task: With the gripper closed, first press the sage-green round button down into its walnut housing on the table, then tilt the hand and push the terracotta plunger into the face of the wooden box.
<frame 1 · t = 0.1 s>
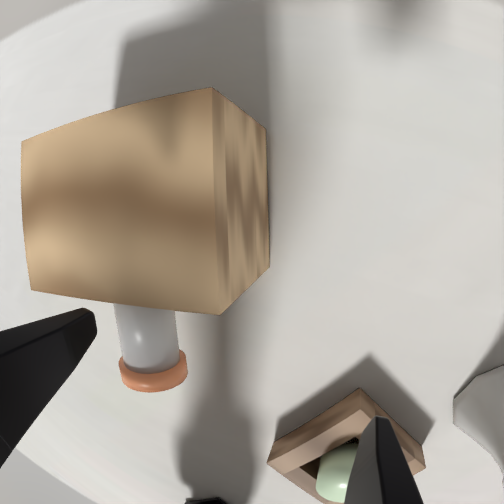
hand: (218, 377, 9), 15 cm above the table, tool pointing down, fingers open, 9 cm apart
button housing: (349, 447, 25), on the table
flask: (485, 399, 21), on the table
wooden box: (179, 201, 25), on the table
plunger: (145, 321, 20), point 6 cm above the table, slide at 0.0 cm
table button: (347, 474, 21), point 4 cm above the table, slide at 0.0 cm
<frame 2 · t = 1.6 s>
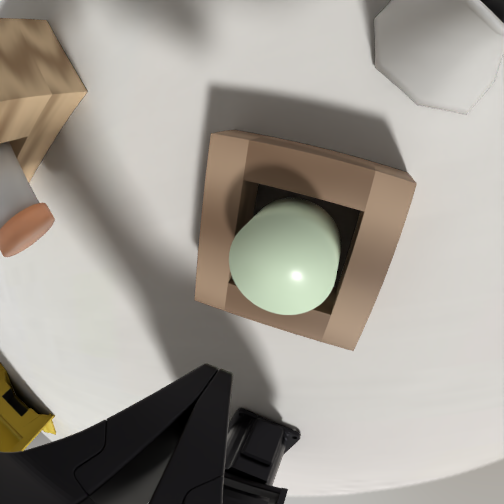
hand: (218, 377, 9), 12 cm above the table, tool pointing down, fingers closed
vintage telephone: (27, 397, 55), on the table
button housing: (301, 230, 19), on the table
flask: (435, 49, 12), on the table
wooden box: (28, 109, 22), on the table
plunger: (5, 192, 18), point 6 cm above the table, slide at 0.0 cm
table button: (288, 255, 16), point 3 cm above the table, slide at 0.0 cm
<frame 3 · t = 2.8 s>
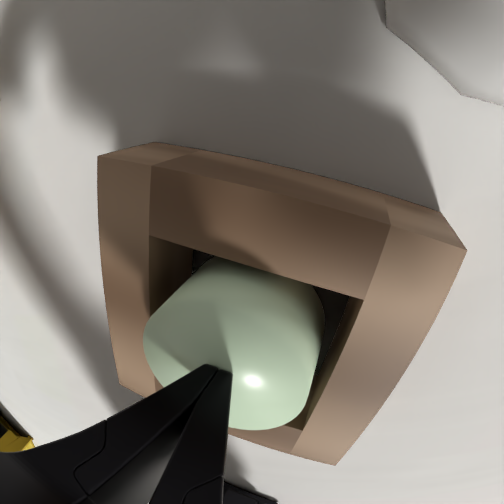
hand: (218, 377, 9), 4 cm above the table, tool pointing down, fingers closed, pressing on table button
vintage telephone: (7, 417, 48), on the table
button housing: (262, 299, 12), on the table
flask: (483, 6, 6), on the table
table button: (237, 344, 10), point 3 cm above the table, slide at 0.8 cm, touching gripper
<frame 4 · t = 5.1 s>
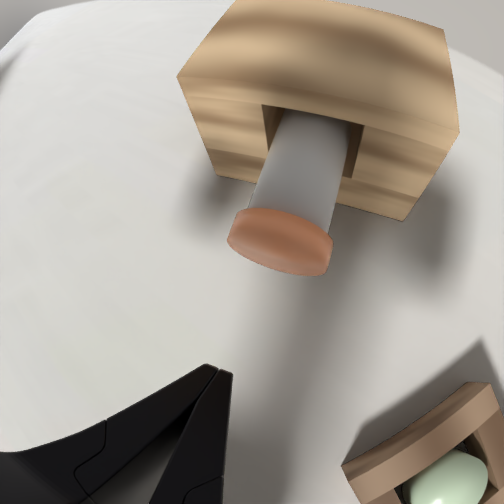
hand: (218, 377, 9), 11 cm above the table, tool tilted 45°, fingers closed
button housing: (434, 478, 15), on the table
wooden box: (323, 142, 24), on the table
plunger: (299, 182, 16), point 6 cm above the table, slide at 0.0 cm
table button: (445, 486, 13), point 2 cm above the table, slide at 1.6 cm
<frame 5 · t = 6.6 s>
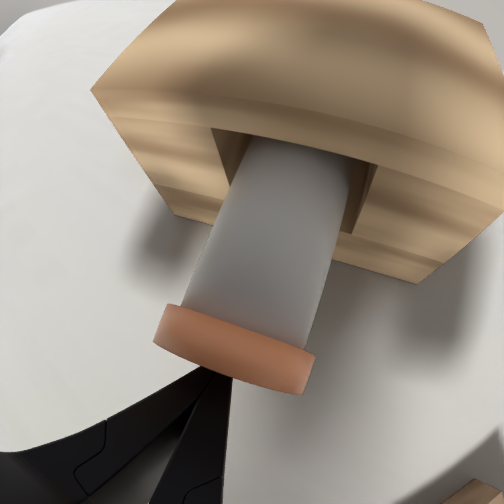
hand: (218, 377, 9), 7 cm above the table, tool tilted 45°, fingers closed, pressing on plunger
wooden box: (316, 171, 18), on the table
plunger: (270, 248, 11), point 6 cm above the table, slide at 0.2 cm, touching gripper
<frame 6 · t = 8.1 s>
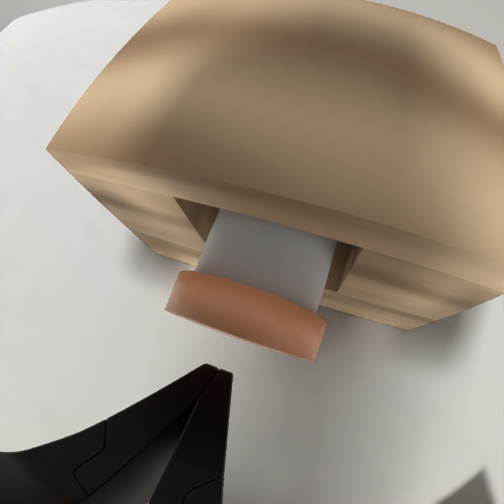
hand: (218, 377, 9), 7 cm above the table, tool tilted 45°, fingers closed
wooden box: (305, 205, 18), on the table
plunger: (280, 219, 11), point 6 cm above the table, slide at 3.8 cm
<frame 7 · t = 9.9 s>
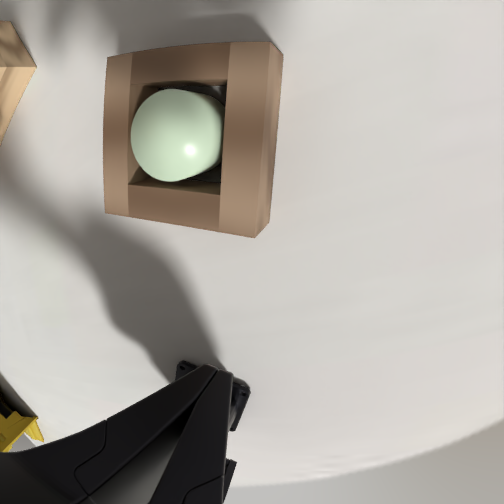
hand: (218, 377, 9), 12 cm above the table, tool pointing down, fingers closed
vintage telephone: (14, 403, 52), on the table
button housing: (196, 133, 19), on the table
table button: (181, 134, 17), point 2 cm above the table, slide at 1.6 cm
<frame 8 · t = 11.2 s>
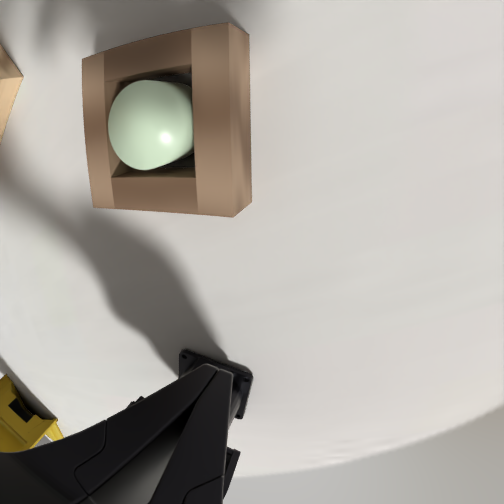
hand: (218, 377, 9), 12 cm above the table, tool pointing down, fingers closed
vintage telephone: (34, 407, 56), on the table
button housing: (173, 121, 19), on the table
table button: (156, 123, 17), point 2 cm above the table, slide at 1.6 cm
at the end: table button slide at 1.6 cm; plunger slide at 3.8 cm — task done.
